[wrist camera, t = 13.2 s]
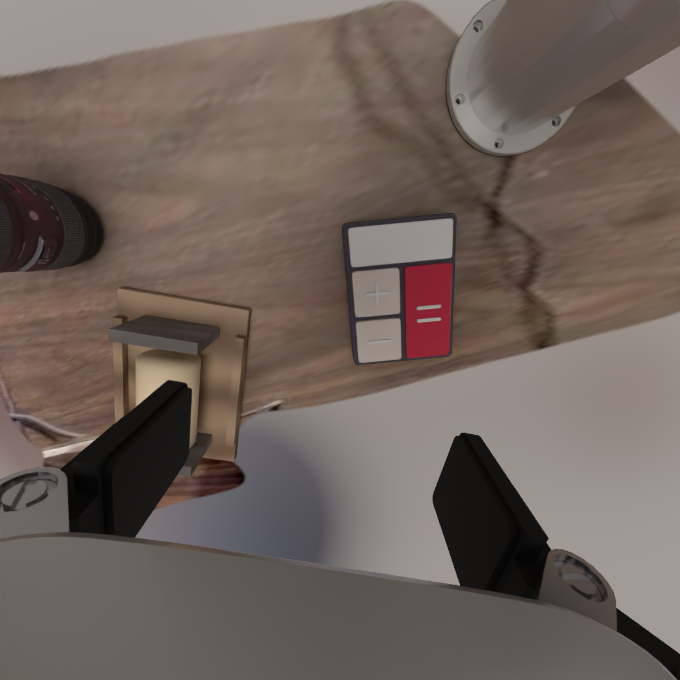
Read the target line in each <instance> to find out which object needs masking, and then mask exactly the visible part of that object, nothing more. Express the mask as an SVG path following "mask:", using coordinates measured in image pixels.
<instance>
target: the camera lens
mask: <svg viewBox="0 0 680 680" xmlns="http://www.w3.org/2000/svg"><path fill="white" fill-rule="evenodd" d="M102 236H103V233H102V227H101V223H100V221H99V219H98V217H97V215H96V214H95V212H94V211H93V210H92V208H91V207H90V206H89V205H88V204H86V203H85V202H84V201H83V200H81V199H80V198H78V197H76V196H73V195H72V194H70V193H68V192H67V191H65V190H63V189H61V188H58V187H55V186H51V185H48V184H46V183H43V182H39V181H36V180H31V179H27V178H22V177H17V176H12V175H5V174H1V173H0V273H2V272H17V271H23V272H29V271H41V270H54V269H60V268H64V267H68V266H74V265H77V264H79V263H81V262H83V261H84V260H87V259H89V258H91V257H92V256H94V255H95V254H96V253H97V251H98V250H99V248H100V246H101V243H102Z"/></svg>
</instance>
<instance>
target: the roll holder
mask: <svg viewBox="0 0 680 680" xmlns="http://www.w3.org/2000/svg"><path fill="white" fill-rule="evenodd" d="M117 293H118V316H114V317H112V328H110V329H109V341H111V342H113V372H114V405H115V423H116V422H117V421H118V420H120V419H121V418H122V417H123V416H125V415H126V414H128V413H129V412H130V411H131V410H133V409H134V408H135V407H136V357H137V356H138V355H139V354H141V353H143V352H146V351H149V350H154V349H162V350H168V351H174V352H181V353H187V354H193V355H199V356H200V357H201V370H200V387H199V403H198V420H197V437H196V441H195V443H194V445H193V446H192V447H191V448H189V455H188V458H187V461H186V463H185V464H184V466H183V467H182V469H181V470H180V472H179V473H178V475H183V476H191V475H192V474H193V472H194V470H195V469H196V467H197V465H198V464H199V462H200V461H201V459H202V457H203V458H210V459H218V460H225V461H232V462H234V461H235V458H236V455H237V445H238V436H239V426H240V416H241V406H242V396H243V386H244V376H245V366H246V356H247V346H248V336H249V326H250V316H251V309H249V308H243V307H237V306H231V305H226V304H220V303H214V302H208V301H202V300H196V299H190V298H185V297H179V296H173V295H167V294H161V293H155V292H150V291H144V290H138V289H132V288H126V287H121V288H117Z"/></svg>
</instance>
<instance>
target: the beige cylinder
mask: <svg viewBox="0 0 680 680" xmlns="http://www.w3.org/2000/svg"><path fill="white" fill-rule="evenodd" d="M200 370H201V357H200V356H199V355H193V354H187V353H181V352H174V351H168V350H162V349H154V350H149V351H146V352H143V353H141V354H139V355H138V356H137V357H136V406H137V405H139V404H140V403H141V402H142V401H143V400H145V399H146V398H147V397H148V396H149V395H150V394H152V393H153V392H154V391H155V390H156V389H158V388H159V387H160V386H161V385H162V384H163V383H165V382H166V381H167V380H173V381H179V382H184V383H187V386H188V388H191V389H192V406H191V425H190V445H189V448H191V447H192V446H193V445H194V443H195V441H196V437H197V420H198V403H199V387H200Z"/></svg>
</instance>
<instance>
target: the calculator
mask: <svg viewBox="0 0 680 680" xmlns="http://www.w3.org/2000/svg"><path fill="white" fill-rule="evenodd" d="M342 235H343V247H344V259H345V269H346V281H347V293H348V305H349V317H350V329H351V341H352V353H353V359H354V363H355V364H356V365H363V364H374V363H385V362H396V361H406V360H417V359H428V358H438V357H448V356H450V355H451V354H452V333H453V305H454V276H455V248H456V215H455V214H454V213H446V214H435V215H425V216H415V217H404V218H394V219H383V220H373V221H363V222H352V223H345V224H344V225H343V226H342Z"/></svg>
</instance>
